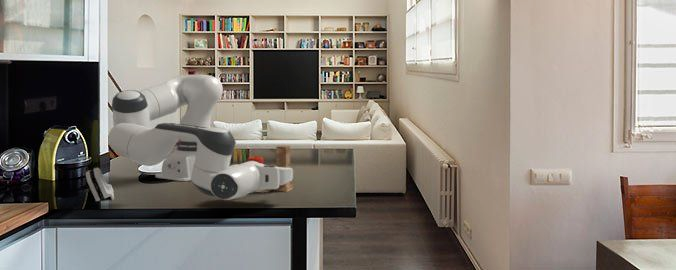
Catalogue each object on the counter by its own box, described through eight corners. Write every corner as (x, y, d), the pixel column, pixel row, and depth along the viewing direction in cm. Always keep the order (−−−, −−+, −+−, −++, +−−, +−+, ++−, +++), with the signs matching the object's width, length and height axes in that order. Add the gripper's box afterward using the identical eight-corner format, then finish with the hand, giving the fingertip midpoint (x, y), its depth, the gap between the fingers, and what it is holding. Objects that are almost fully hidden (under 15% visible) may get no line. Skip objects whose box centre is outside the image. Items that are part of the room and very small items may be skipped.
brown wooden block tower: (268, 190, 173) (268, 146, 171) (274, 187, 178) (274, 144, 176) (287, 191, 171) (287, 147, 169) (292, 188, 176) (292, 145, 174)
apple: (244, 174, 201) (244, 156, 200) (256, 172, 206) (256, 154, 205) (254, 176, 197) (253, 157, 196) (266, 174, 201) (266, 156, 200)
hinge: (114, 199, 157) (100, 170, 155) (98, 206, 155) (84, 176, 153) (113, 189, 172) (101, 162, 170) (98, 195, 170) (86, 168, 168)
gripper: (219, 184, 153) (241, 176, 166) (282, 189, 147) (299, 180, 160) (218, 163, 152) (241, 157, 166) (282, 167, 146) (299, 161, 160)
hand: (270, 169), depth 163 cm, fingers open, 8 cm apart
